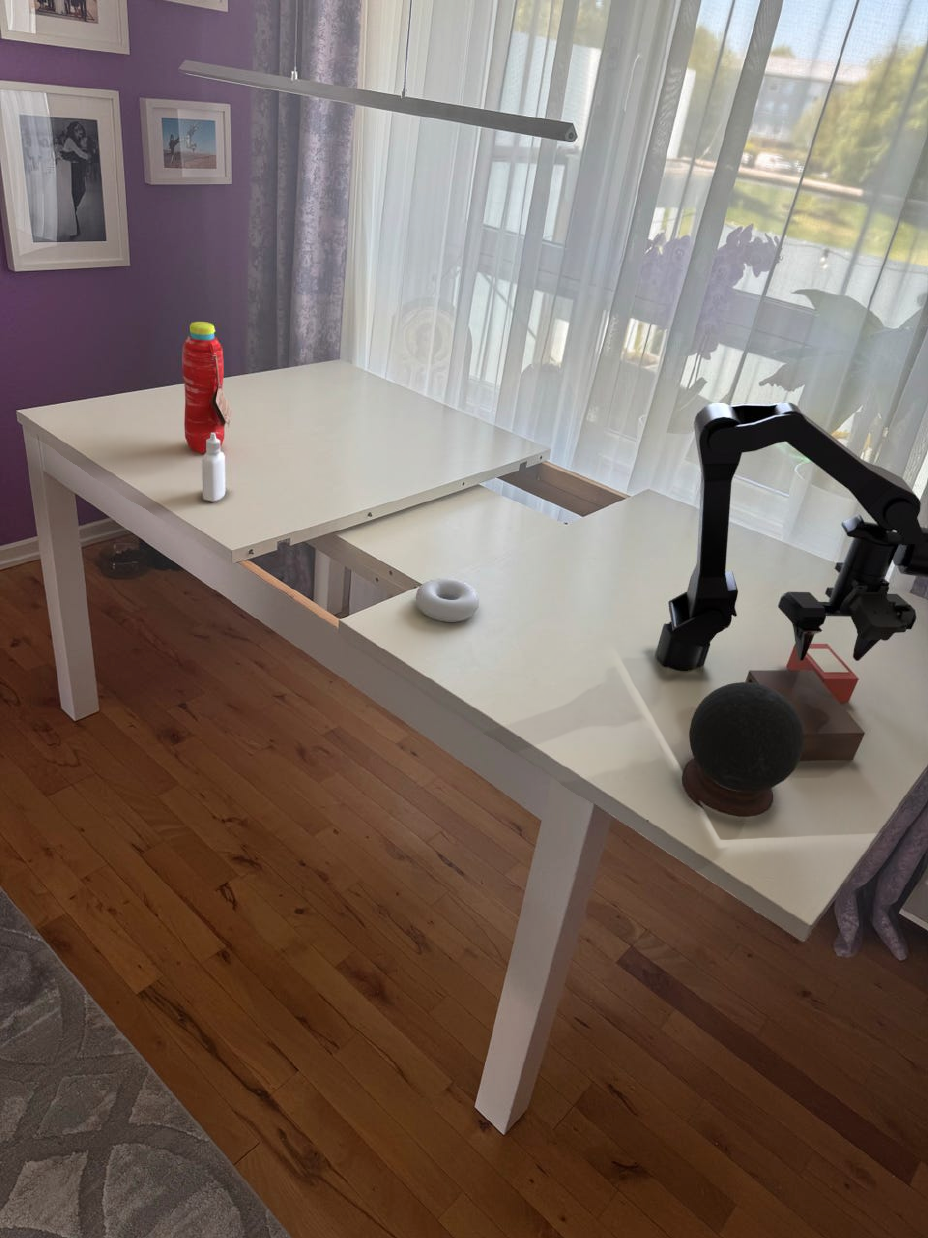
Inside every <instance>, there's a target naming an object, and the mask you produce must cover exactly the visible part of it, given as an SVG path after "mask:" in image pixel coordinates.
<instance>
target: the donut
mask: <svg viewBox="0 0 928 1238" xmlns="http://www.w3.org/2000/svg"><path fill="white" fill-rule="evenodd" d="M414 598H415V603H416V606H417V608H418V609H419V610H420V611H421V612H422V613H423V614H424V615H426V616H427V617H429V618H430V619H434V620H435V621H436V620H437V621H440V622H447V623H452V622H453V623H454V622H457V623H458V622H462V621H465V620H467V619H469V618H472V617H473V615H474V614H475V613H476V612H477V611H478V609H479V606H480V598H479V595H478V593H477V591H476V590H475V589H474V588H473V587H472V586H471V585H469V584H467V583H465V582H464V581H461V580H457V579H455V578H454V579H453V578H446V577H444V578H442V577H441V578H433V579H430V580H428V581H425V582H423V583H422V584H421V585H420V586H419V587H418V588H417V589H416V593H415V597H414Z"/></svg>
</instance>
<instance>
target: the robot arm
mask: <svg viewBox="0 0 928 1238" xmlns="http://www.w3.org/2000/svg"><path fill="white" fill-rule="evenodd" d="M693 429H694V436H695V443H696V444H695V445H696V451H697V455H698V461H699V468H700V491H699V493H700V494H699V513H698V514H699V515H698V528H697V529H698V533H697V551H696V554H697V555H696V564H695V566H694V569H693V571H692V573H691V575H690V578H689V582H688V585H687V590H686V591H684V592H683V593H681V594H679V595H678V596H676V597H673V598H672V599H669V601H668V602H667V604H668V605H667V606H668V611H669V616H670V617H669V618H670V621H669V622H668V623H663V625H662V629H661V633H660V636H659V638H658V639H659V640H658V643H657V647H656V649H655V654H654V655H655V657H656V659H657V660H658V662H659V664H660V666H661V667H662V668H669V669H671V670H674V671H678V672H684V673H685V672H691V671H694V670H695V669H697V668H701V667H703V666H704V665H705V663H706V660H707V656H708V654H709V651H710V647H711V642H712V641H713V640H714V638H715V637H716V636H717V635H718V634H719V633H722V632H723V631H724V630H726V629H728V628H729V627H730V625H731V622H732V618H733V617H737V616H738V614H737V613H738V612H737V610H736V603H737V599H738V596H739V595H738V594H739V589H738V586H737V583H736V579H735V576H734V571H726V566H727V555H728V554H727V553H728V552H727V551H728V540H729V527H730V526H729V523H730V512H731V511H730V509H731V495H732V483H733V479H734V476H735V475H736V474H735V473H736V471H737V469H738V467H739V465H740V462H741V458H742V455H743V453H750V452H756V451H758V450H762V449H764V448H767V447H769V446H773V445H776V444H781V443H787V444H788V445H789V446H791V447H792V448H794V449H795V450H796V451H797V452H799V453H800V454H801V455H802V456H804V457H805V458H807V459H808V460H809V461H810V462H811V463H812V464H814V465H816V466H817V467H818V468H819V469H821V470H822V471H823V472H824V473H826V474H827V475H829V476H830V477H831V478H833V480H835V481H837V482H838V483H839V484H840V485H842V486H843V487H844V488H846V489H847V490H848V491H849V493H851V494H852V496H853V497H854V498H855V499H856V500H857V502H858V503H859V504H860V505H861V507H862V508H863V509H864V510H865V511H866V513H867V514H868V515H869V516H870V517H871V519H872V520H873V521H874V522H869V521H865V520H864V518H863V517H862V515H861V514H856V515H855V516H854V517H852V518H849V519H846V520H844V521H842V522H841V524H840V525H841V528H842V529H843V532H844V533H845V534H846V537H849V538H852V540H851V542H850V544H849V547H848V549H847V553H846V556H845V557H844V560H843V562H840V561H839V562H836V564H835V566H834V569H835V571H837V573H838V576H837V578H836V581H835V583H834V585H833V587H826V590H825V592H824V594H825V595H826V596H827V598H829V599H828V601H819V600H818V599H817V598H816V597H815V596H814V595H813V594H812V593H811V592H810V591H786V592H784V593H783V594H782V595H781V597H780V599H779V602H778V605H777V608H778V609H779V610H780V612H782V613H783V615H784V616H785V617H786V618H787V619H788V620H789V621H790V623H791V624H792V629H793V635H794V645H795V644H796V653H797V658H798V659H799V660H800V661H803V659H804V658H805V656H806V654H807V652H808V649H809V647H810V644H812V642H813V639H814V637H815V635H816V634H820V633H822V632H823V629H822V628H821V626H822V625H824V624H825V621H826V619H827V617H845V618H846V617H847V618H848V617H849V618H851V621H852V623H853V625H854V627H855V629H856V634H857V636H856V639H855V643H854V645H853V652H852V658H853V660H854V661H856V662H859V661H860V660H861V659H862V658H863V657H864V656H865V655H866V654H867V653H869V651H870V650H871V649H872V648H873V647H874V646H875V645H877V643H878V642H880V641H889V640H890V639H891V638H892V636H893V635H894V634H901V633H906V631H907V630H912V629H913V627H914V625H915V623H916V620H917V612H916V609H915V608H914V607H912V605H911V604H909V602H907V601H906V600H905V599H904V598H902V597H901V595H899V594H898V593H889V591H890V587H889V586H890V584H891V583H890V582H889V581H888V580H886V576H887V574H888V572H889V569H890V567H891V564H892V562H893V565H895V566H897V569H898V572H899V573H900V574H901V575H907V576H913V577H919V578H925V579H928V527H922V526H921V524H920V521H919V518H918V517H919V515H920V513H921V505H922V503H921V502H922V501H921V499H919V497H918V496H917V495H916V493H915V492H914V491H913V490H912V488H911V487H910V486H909V484H908V483H907V482H906V481H905V480H904V478H903V477H901V476H899V475H897V474H896V473H893V471H890V470H887V469H886V468H884V467H881V466H879V465H875V464H872V463H869V462H868V461H866V460H864V459H862V458H861V457H860V456H858V455H857V454H856V453H854V452H853V451H852V450H851V449H849V448H848V447H846V445H844V444H843V443H842V442H840V441H839V440H838V439H837V438H836V437H834V436H833V435H832V434H830V433H829V432H828V431H826V430H825V429H824V428H823V427H821V426H820V425H819V424H817V423H816V422H815V421H813V420H812V419H811V418H810V417H809V416H807V415H806V414H805V413H803V412H802V411H801V409H800V408H799V406H798V405H796V404H795V403H792V402H787V401H786V402H778V403H771V404H764V403H763V404H760V403H741V404H734V405H729V404H727V403H726V402H725V403H724V402H713V403H709V404H708V405H706V406H704V407H703V408H702V409H701V410H699V411H698V412H697V413H696V415H695V417H694V422H693Z"/></svg>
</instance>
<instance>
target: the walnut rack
mask: <svg viewBox="0 0 928 1238" xmlns="http://www.w3.org/2000/svg"><path fill="white" fill-rule="evenodd" d="M744 682H750V683H757V684H761V685H764V686H767V687H769V688H772V689H773V690H775V691H777V692H778V693H780V694H781V695H782V696H783V697H784V698H786V699H787V700H788V701H789V703H790V704H791V705H792V706H793V707H794V709H795V711H796V712H797V714H798V716H799V718H800V721H801V724H802V728H803V732H804V741H803V751H802V754H801V757H800V760H799V762H820V761H821V762H826V761H827V762H828V761H853V760H854V758H855V756H856V754H857V753H858V749H859V748H860V745H861V743H862V741H863V738H864V736H865V735H866V732H865V731H864V729H863V728H862V727H861V726H860V724H858V722H857V721H856V720H855V719H854V717H852V716H851V714H850V713H849V712H848V710H847V709H846V708H845V707H844V706H843V704H842V703H841V702H839V701H838V700H837V699H836V698H835V696H834V695H833V694H832V693H831V692H830V690H829V689H828V688H827V687H826V686H825V685H824V683H823V682H822V681H821V680H820V679H819V677H818V676H817V675H816V674H815V673H814V671H813V670H788V669H786V670H782V669H780V670H773V669H772V670H771V669H770V670H769V669H768V670H767V669H765V670H764V669H763V670H760V669H759V670H758V669H757V670H756V669H754V670H753V669H752V670H751V669H750V670H748V673H747V675H746V679H745V681H744Z"/></svg>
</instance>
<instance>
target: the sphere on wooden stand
mask: <svg viewBox="0 0 928 1238" xmlns="http://www.w3.org/2000/svg"><path fill="white" fill-rule="evenodd" d="M688 736H689V746H690V750H691V753H692V756H693V758H692V759H690V760H689V761H688V762H687V763H686V764H685V767H684V768H683V772H682V774H681V783H682V787H683V789H684V791H685V793H686V795H687V796H688V797H689V798H690V799H691V800H692V802H694V803H695V804H696V805H697V806H699V808H701V809H704V807H703V805H705V806H707V807H709V808H710V809H712V810H714V811H717V812H719V813H721V814H724V815H729V816H733V817H738V818H739V817H741V818H751V817H756V816H759V815H762V814H764V813H766V812H767V811H768V810H769V809H770V808H771V807H772V805H773V803H774V793H773V788H774V787H776V786H777V785H780V784H782V783H783V782H784V781H785V780H786V779H788V778H789V776H791V774H793V772H794V771H795V769H796V768H797V766H798V764H799V762H800V761H799V760H800V757H801V754H802V751H803V741H804V732H803V728H802V724H801V721H800V718H799V716H798V714H797V712H796V711H795V709H794V707H793V706H792V705H791V704H790V703H789V701H788V700H787V699H786V698H784V697H783V696H782V695H781V694H780V693H778V692H777V691H775V690H773V689H772V688H769V687H767V686H764V685H761V684H757V683H750V682H745V681H740V682H732V683H727V684H725V685H722V686H720V687H718V688H715V689H714V690H713V691H712V692H710V693H708V695H706V696H705V697H704V698H703V699H702V700H701V702H700V703H699V704H698V706H697V707H696V709H695V711H694V713H693V714H692V717H691V720H690V726H689V732H688ZM702 804H703V805H702Z"/></svg>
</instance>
